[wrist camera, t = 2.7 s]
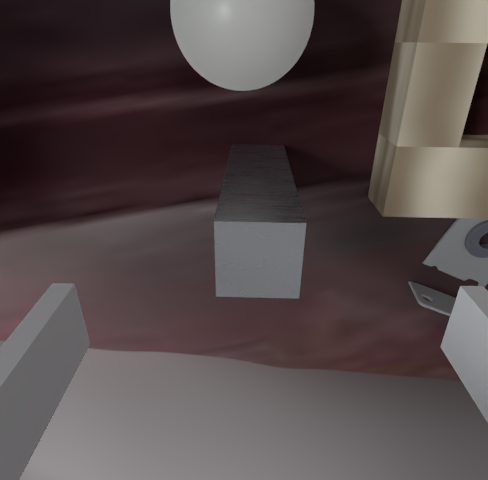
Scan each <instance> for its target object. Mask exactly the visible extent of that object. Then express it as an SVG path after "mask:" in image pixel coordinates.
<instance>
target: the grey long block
mask: <svg viewBox="0 0 488 480" xmlns="http://www.w3.org/2000/svg"><path fill="white" fill-rule="evenodd" d="M305 232H306V220H305V217H304V213H303V210H302V206H301V203H300V199H299V196H298V192H297V189H296V185H295V182H294V179H293V175H292V172H291V168H290V165H289V161H288V158H287V154H286V151H285V147H284V145H249V144H231V148H230V152H229V157H228V161H227V166H226V170H225V175H224V179H223V183H222V188H221V192H220V197H219V201H218V206H217V210H216V214H215V219H214V241H215V276H216V297H256V298H298V299H299V294H300V284H301V273H302V263H303V253H304V243H305Z"/></svg>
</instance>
